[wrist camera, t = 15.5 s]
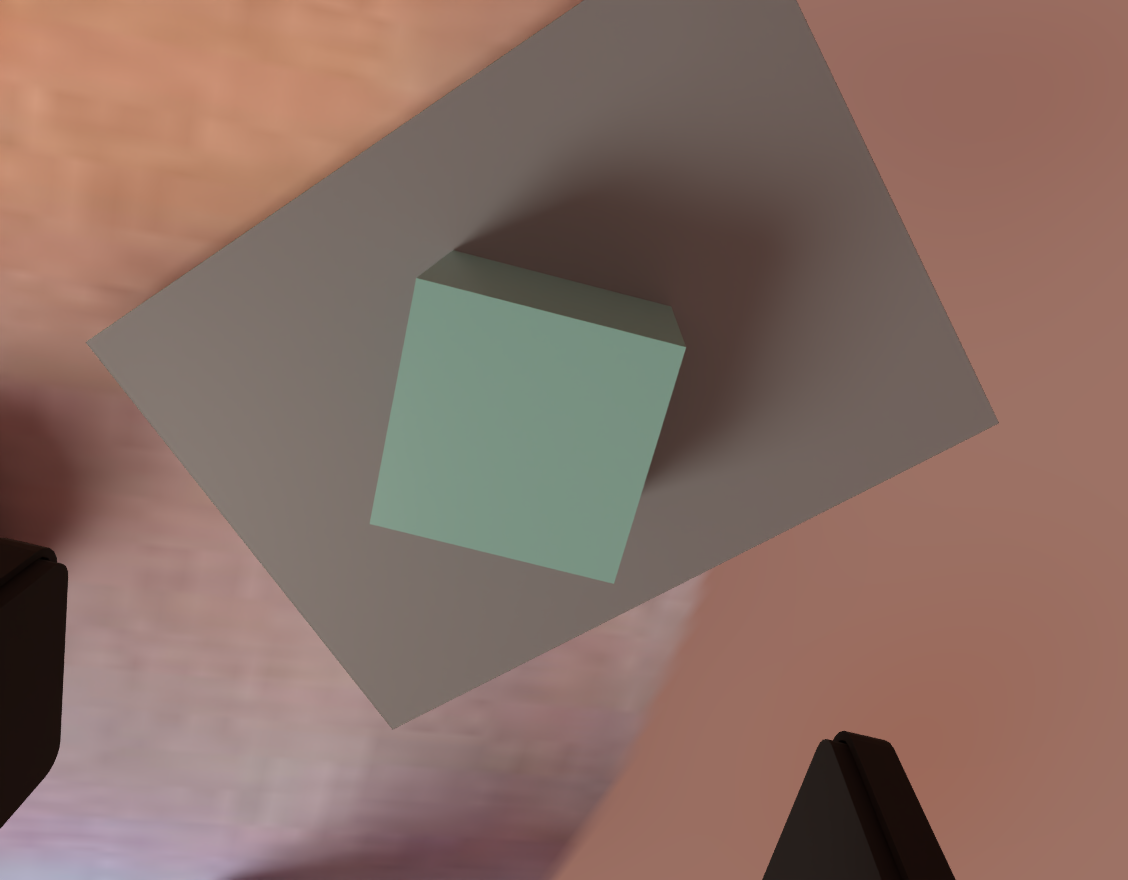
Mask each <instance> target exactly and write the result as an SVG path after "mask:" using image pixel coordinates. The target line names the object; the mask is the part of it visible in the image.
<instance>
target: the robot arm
mask: <svg viewBox="0 0 1128 880" xmlns="http://www.w3.org/2000/svg"><path fill="white" fill-rule="evenodd" d="M67 590H68V570H67V568H66V566H65V565H63V564H61V563H57V557H56V555H55V553H54V551H53V550H51V549H50V548H47V547H42V546H38V545H34V544H29V543H25V542H21V541H16V540H12V539H8V538H0V828H1V827H2V826H3V825H4V824H5V823H6V822H7V820H8V819H9V818H10V817H11V816H12V815H13V813H14V812H15V811H16V810H17V809H18V808H19V807H20V805H21V804H22V803H23V802H24V801H25V800H26V798H27V797H28V796H29V795H30V794H31V793H32V792H33V790H34V789H35V788H36V787H37V786H38V785H39V783H40V782H41V781H42V780H43V779H44V778H45V776H46V775H47V774H48V772H49V771H50V769H51V767H52V766H53V764H54V762H55V759H56V757H57V754H58V751H59V747H60V736H61V715H62V694H63V674H64V653H65V632H66V611H67ZM762 880H955V877H954V876H953V874H952V871H951V869H950V867H949V865H948V863H947V860H946V858H945V856H944V854H943V852H942V850H941V848H940V846H939V844H938V841H937V839H936V837H935V835H934V833H933V831H932V829H931V826H930V825H929V822H928V820H927V818H926V816H925V814H924V812H923V809H922V807H921V805H920V803H919V801H918V799H917V797H916V795H915V792H914V790H913V788H912V786H911V784H910V782H909V780H908V778H907V775H906V773H905V771H904V769H903V767H902V765H901V763H900V761H899V758H898V756H897V754H896V752H895V750H894V748H893V747H892V745H891V744H890V743H889V742H887V741H885V740H881V739H877V738H872V737H868V736H864V735H859V734H855V733H851V732H846V731H842V732H839V733H838V734H837V735H836V736H835V738H834V740H833V741H832V740H828V739H825V740H822V742H820V744H819V746H818V747H817V750H816V752H815V754H814V757H813V759H812V761H811V764H810V766H809V769H808V771H807V773H806V776H805V778H804V781H803V783H802V786H801V788H800V790H799V793H798V795H797V798H796V800H795V802H794V805H793V807H792V810H791V812H790V815H789V817H788V819H787V822H786V824H785V826H784V829H783V831H782V834H781V836H780V838H779V841H778V843H777V846H776V848H775V850H774V853H773V855H772V858H771V860H770V863H769V865H768V867H767V870H766V872H765V875H764V877H763V879H762Z"/></svg>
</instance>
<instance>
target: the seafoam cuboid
mask: <svg viewBox="0 0 1128 880" xmlns="http://www.w3.org/2000/svg"><path fill="white" fill-rule="evenodd" d="M685 349H686V346H685V343H684V340H683V337H682V335H681V332H680V329H679V326H678V324H677V321H676V318H675V316H674V313H673V310H672V307H671V306H667V305H663V304H659V303H656V302H652V301H648V300H644V299H640V298H636V297H632V296H629V295H625V294H621V293H617V292H613V291H609V290H605V289H601V288H598V287H594V286H590V285H586V284H582V283H578V282H574V281H571V280H567V279H563V278H559V277H555V276H551V275H547V274H543V273H540V272H536V271H532V270H528V269H524V268H520V267H516V266H512V265H509V264H505V263H501V262H497V261H493V260H489V259H485V258H482V257H478V256H474V255H470V254H466V253H462V252H458V251H454V250H452V251H451V252H450V253H448V254H447V255H446V256H445V257H443V258H442V259H441V260H439V261H438V262H437V263H435V264H434V265H433V266H431V267H430V268H429V269H427V270H426V271H425V272H423V273H422V274H421V275H419V276H418V277H417V278H416V282H415V287H414V292H413V298H412V303H411V308H410V313H409V319H408V324H407V329H406V334H405V340H404V345H403V350H402V356H401V361H400V366H399V371H398V377H397V382H396V387H395V392H394V398H393V403H392V408H391V413H390V419H389V424H388V429H387V435H386V440H385V445H384V450H383V456H382V461H381V466H380V471H379V477H378V482H377V487H376V492H375V498H374V503H373V508H372V513H371V519H370V524H372V525H376V526H380V527H384V528H388V529H392V530H396V531H400V532H405V533H409V534H413V535H417V536H421V537H425V538H429V539H433V540H437V541H441V542H445V543H449V544H453V545H458V546H462V547H466V548H470V549H474V550H478V551H482V552H486V553H490V554H494V555H498V556H502V557H506V558H510V559H515V560H519V561H523V562H527V563H531V564H535V565H539V566H543V567H547V568H551V569H555V570H559V571H563V572H568V573H572V574H576V575H580V576H584V577H588V578H592V579H596V580H600V581H604V582H608V583H612V584H614V582H615V579H616V575H617V572H618V569H619V566H620V562H621V559H622V556H623V552H624V549H625V546H626V543H627V539H628V536H629V533H630V530H631V526H632V523H633V520H634V516H635V513H636V510H637V507H638V503H639V500H640V497H641V493H642V490H643V487H644V484H645V480H646V477H647V474H648V471H649V467H650V464H651V461H652V457H653V454H654V451H655V448H656V444H657V441H658V438H659V435H660V431H661V428H662V425H663V421H664V418H665V415H666V412H667V408H668V405H669V402H670V398H671V395H672V392H673V389H674V385H675V382H676V379H677V376H678V372H679V369H680V366H681V362H682V359H683V356H684V353H685Z"/></svg>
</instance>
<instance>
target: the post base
mask: <svg viewBox="0 0 1128 880" xmlns="http://www.w3.org/2000/svg"><path fill="white" fill-rule="evenodd" d="M452 250H454V251H458V252H462V253H466V254H470V255H474V256H478V257H482V258H485V259H489V260H493V261H497V262H501V263H505V264H509V265H512V266H516V267H520V268H524V269H528V270H532V271H536V272H540V273H543V274H547V275H551V276H555V277H559V278H563V279H567V280H571V281H574V282H578V283H582V284H586V285H590V286H594V287H598V288H601V289H605V290H609V291H613V292H617V293H621V294H625V295H629V296H632V297H636V298H640V299H644V300H648V301H652V302H656V303H659V304H663V305H667V306H671V307H672V310H673V313H674V316H675V318H676V321H677V324H678V326H679V329H680V332H681V335H682V337H683V340H684V343H685V346H686V349H685V353H684V356H683V359H682V362H681V366H680V369H679V372H678V376H677V379H676V382H675V385H674V389H673V392H672V395H671V398H670V402H669V405H668V408H667V412H666V415H665V418H664V421H663V425H662V428H661V431H660V435H659V438H658V441H657V444H656V448H655V451H654V454H653V457H652V461H651V464H650V467H649V471H648V474H647V477H646V480H645V484H644V487H643V490H642V493H641V497H640V500H639V503H638V507H637V510H636V513H635V516H634V520H633V523H632V526H631V530H630V533H629V536H628V539H627V543H626V546H625V549H624V552H623V556H622V559H621V562H620V566H619V569H618V572H617V575H616V579H615V582H614V584H612V583H608V582H604V581H600V580H596V579H592V578H588V577H584V576H580V575H576V574H572V573H568V572H563V571H559V570H555V569H551V568H547V567H543V566H539V565H535V564H531V563H527V562H523V561H519V560H515V559H510V558H506V557H502V556H498V555H494V554H490V553H486V552H482V551H478V550H474V549H470V548H466V547H462V546H458V545H453V544H449V543H445V542H441V541H437V540H433V539H429V538H425V537H421V536H417V535H413V534H409V533H405V532H400V531H396V530H392V529H388V528H384V527H380V526H376V525H372V524H370V519H371V513H372V508H373V503H374V498H375V492H376V487H377V482H378V477H379V471H380V466H381V461H382V456H383V450H384V445H385V440H386V435H387V429H388V424H389V419H390V413H391V408H392V403H393V398H394V392H395V387H396V382H397V377H398V371H399V366H400V361H401V356H402V350H403V345H404V340H405V334H406V329H407V324H408V319H409V313H410V308H411V303H412V298H413V292H414V287H415V282H416V278H417V277H418V276H419V275H421V274H422V273H423V272H425V271H426V270H427V269H429V268H430V267H431V266H433V265H434V264H435V263H437V262H438V261H439V260H441V259H442V258H443V257H445V256H446V255H447V254H448V253H450V252H451V251H452ZM86 343H87V345H88V346H89V347H90V348H91V350H92V351H93V352H94V353H95V355H96V356H97V357H98V358H99V360H100V361H101V362H102V364H103V365H104V366H105V367H106V369H107V370H108V371H109V372H110V374H111V375H112V376H113V377H114V379H115V380H116V381H117V382H118V384H119V385H120V386H121V387H122V389H123V390H124V391H125V393H126V394H127V395H128V396H129V398H130V399H131V400H132V401H133V403H134V404H135V405H136V406H137V408H138V409H139V410H140V411H141V413H142V414H143V415H144V417H145V418H146V419H147V420H148V422H149V423H150V424H151V425H152V427H153V428H154V429H155V430H156V432H157V433H158V434H159V435H160V437H161V438H162V439H163V440H164V442H165V443H166V444H167V446H168V447H169V448H170V449H171V451H172V452H173V453H174V454H175V456H176V457H177V458H178V459H179V461H180V462H181V463H182V464H183V466H184V467H185V468H186V470H187V471H188V472H189V473H190V475H191V476H192V477H193V478H194V480H195V481H196V482H197V483H198V485H199V486H200V487H201V488H202V490H203V491H204V492H205V493H206V495H207V496H208V497H209V499H210V500H211V501H212V502H213V504H214V505H215V506H216V507H217V509H218V510H219V511H220V512H221V514H222V515H223V516H224V517H225V519H226V520H227V521H228V523H229V524H230V525H231V526H232V528H233V529H234V530H235V531H236V533H237V534H238V535H239V536H240V538H241V539H242V540H243V541H244V543H245V544H246V545H247V546H248V548H249V549H250V550H251V552H252V553H253V554H254V555H255V557H256V558H257V559H258V560H259V562H260V563H261V564H262V565H263V567H264V568H265V569H266V570H267V572H268V573H269V574H270V576H271V577H272V578H273V579H274V581H275V582H276V583H277V584H278V586H279V587H280V588H281V589H282V591H283V592H284V593H285V594H286V596H287V597H288V598H289V599H290V601H291V602H292V603H293V605H294V606H295V607H296V608H297V610H298V611H299V612H300V613H301V615H302V616H303V617H304V618H305V620H306V621H307V622H308V623H309V625H310V626H311V627H312V628H313V630H314V631H315V632H316V634H317V635H318V636H319V637H320V639H321V640H322V641H323V642H324V644H325V645H326V646H327V647H328V649H329V650H330V651H331V652H332V654H333V655H334V656H335V658H336V659H337V660H338V661H339V663H340V664H341V665H342V666H343V668H344V669H345V670H346V671H347V673H348V674H349V675H350V676H351V678H352V679H353V680H354V681H355V683H356V684H357V685H358V687H359V688H360V689H361V690H362V692H363V693H364V694H365V695H366V697H367V698H368V699H369V700H370V702H371V703H372V704H373V705H374V707H375V708H376V709H377V711H378V712H379V713H380V714H381V716H382V717H383V718H384V719H385V721H386V722H387V723H388V724H389V726H390V727H391V728H392V729H395V728H397V727H399V726H401V725H403V724H405V723H407V722H409V721H411V720H412V719H414V718H416V717H418V716H420V715H422V714H424V713H426V712H428V711H430V710H432V709H434V708H436V707H438V706H440V705H442V704H444V703H446V702H448V701H450V700H452V699H454V698H456V697H458V696H460V695H462V694H464V693H466V692H468V691H470V690H472V689H474V688H476V687H478V686H480V685H482V684H484V683H486V682H488V681H490V680H492V679H494V678H496V677H498V676H500V675H502V674H504V673H506V672H508V671H510V670H511V669H513V668H515V667H517V666H519V665H521V664H523V663H525V662H527V661H529V660H531V659H533V658H535V657H537V656H539V655H541V654H543V653H545V652H547V651H549V650H551V649H553V648H555V647H557V646H559V645H561V644H563V643H565V642H567V641H569V640H571V639H573V638H575V637H577V636H579V635H581V634H583V633H585V632H587V631H589V630H591V629H593V628H595V627H597V626H599V625H601V624H603V623H605V622H607V621H608V620H610V619H612V618H614V617H616V616H618V615H620V614H622V613H624V612H626V611H628V610H630V609H632V608H634V607H636V606H638V605H640V604H642V603H644V602H646V601H648V600H650V599H652V598H654V597H656V596H658V595H660V594H662V593H664V592H666V591H668V590H670V589H672V588H674V587H676V586H678V585H680V584H682V583H684V582H686V581H688V580H690V579H692V578H694V577H696V576H698V575H700V574H702V573H704V572H705V571H707V570H709V569H711V568H713V567H715V566H717V565H719V564H721V563H723V562H725V561H727V560H729V559H731V558H733V557H735V556H737V555H739V554H741V553H743V552H745V551H747V550H749V549H751V548H753V547H755V546H757V545H759V544H761V543H763V542H765V541H767V540H769V539H771V538H773V537H775V536H777V535H779V534H781V533H783V532H784V531H787V530H789V529H790V528H793V527H794V526H796V525H799V524H800V523H802V522H804V521H806V520H808V519H810V518H812V517H814V516H816V515H818V514H820V513H822V512H824V511H826V510H828V509H830V508H832V507H834V506H836V505H838V504H840V503H842V502H844V501H846V500H848V499H850V498H852V497H854V496H856V495H858V494H860V493H862V492H864V491H866V490H868V489H870V488H872V487H874V486H876V485H878V484H880V483H882V482H884V481H886V480H888V479H890V478H891V477H894V476H895V475H897V474H900V473H901V472H903V471H905V470H907V469H909V468H911V467H913V466H915V465H917V464H919V463H921V462H923V461H925V460H927V459H929V458H931V457H933V456H935V455H937V454H939V453H941V452H943V451H945V450H947V449H949V448H951V447H953V446H955V445H957V444H959V443H961V442H963V441H965V440H967V439H969V438H971V437H973V436H975V435H977V434H979V433H981V432H982V431H985V430H987V429H989V428H991V427H992V426H994V425H997V424H998V423H999V422H998V420H997V418H996V416H995V414H994V411H993V409H992V407H991V405H990V403H989V401H988V399H987V397H986V395H985V393H984V391H983V389H982V387H981V384H980V382H979V380H978V378H977V376H976V374H975V372H974V370H973V368H972V366H971V363H970V361H969V359H968V358H967V355H966V353H965V351H964V349H963V347H962V345H961V343H960V341H959V338H958V336H957V334H956V332H955V330H954V328H953V326H952V324H951V322H950V320H949V318H948V316H947V313H946V312H945V309H944V307H943V305H942V303H941V301H940V299H939V297H938V295H937V293H936V291H935V289H934V286H933V284H932V282H931V280H930V278H929V276H928V274H927V272H926V270H925V268H924V266H923V264H922V261H921V259H920V257H919V255H918V253H917V251H916V249H915V247H914V245H913V243H912V241H911V238H910V236H909V234H908V232H907V230H906V228H905V226H904V224H903V222H902V220H901V218H900V215H899V213H898V211H897V209H896V207H895V205H894V203H893V201H892V199H891V197H890V195H889V193H888V190H887V188H886V186H885V184H884V182H883V180H882V178H881V176H880V174H879V172H878V170H877V167H876V166H875V163H874V161H873V159H872V157H871V155H870V153H869V151H868V149H867V147H866V145H865V143H864V140H863V138H862V136H861V134H860V132H859V130H858V128H857V126H856V124H855V122H854V119H853V117H852V115H851V113H850V111H849V109H848V107H847V105H846V103H845V101H844V99H843V97H842V95H841V93H840V90H839V88H838V86H837V84H836V82H835V80H834V78H833V76H832V74H831V72H830V70H829V67H828V65H827V63H826V61H825V59H824V57H823V55H822V53H821V51H820V49H819V47H818V44H817V42H816V40H815V38H814V36H813V34H812V32H811V30H810V28H809V26H808V24H807V21H806V19H805V18H804V15H803V13H802V11H801V9H800V7H799V5H798V3H797V1H796V0H584V1H582V2H581V3H579V4H578V5H576V6H575V7H573V8H572V9H571V10H569V11H568V12H566V13H565V14H563V15H562V16H560V17H559V18H557V19H556V20H555V21H553V22H552V23H550V24H549V25H547V26H546V27H544V28H543V29H541V30H540V31H538V32H537V33H536V34H534V35H533V36H531V37H530V38H528V39H527V40H525V41H524V42H522V43H521V44H520V45H518V46H517V47H515V48H514V49H512V50H511V51H509V52H508V53H506V54H505V55H504V56H502V57H501V58H499V59H498V60H496V61H495V62H493V63H492V64H490V65H489V66H487V67H486V68H485V69H483V70H482V71H480V72H479V73H477V74H476V75H474V76H473V77H471V78H470V79H469V80H467V81H466V82H464V83H463V84H461V85H460V86H458V87H457V88H455V89H454V90H453V91H451V92H450V93H448V94H447V95H445V96H444V97H442V98H441V99H439V100H438V101H436V102H435V103H434V104H432V105H431V106H429V107H428V108H426V109H425V110H423V111H422V112H420V113H419V114H418V115H416V116H415V117H413V118H412V119H410V120H409V121H407V122H406V123H404V124H403V125H402V126H400V127H399V128H397V129H396V130H394V131H393V132H391V133H390V134H388V135H387V136H385V137H384V138H383V139H381V140H380V141H378V142H377V143H375V144H374V145H372V146H371V147H369V148H368V149H367V150H365V151H364V152H362V153H361V154H359V155H358V156H356V157H355V158H353V159H352V160H350V161H349V162H348V163H346V164H345V165H343V166H342V167H340V168H339V169H337V170H336V171H334V172H333V173H332V174H330V175H329V176H327V177H326V178H324V179H323V180H321V181H320V182H318V183H317V184H316V185H314V186H313V187H311V188H310V189H308V190H307V191H305V192H304V193H302V194H301V195H299V196H298V197H297V198H295V199H294V200H292V201H291V202H289V203H288V204H286V205H285V206H283V207H282V208H281V209H279V210H278V211H276V212H275V213H273V214H272V215H270V216H269V217H267V218H266V219H265V220H263V221H262V222H260V223H259V224H257V225H256V226H254V227H253V228H251V229H250V230H248V231H247V232H246V233H244V234H243V235H241V236H240V237H238V238H237V239H235V240H234V241H232V242H231V243H230V244H228V245H227V246H225V247H224V248H222V249H221V250H219V251H218V252H216V253H215V254H214V255H212V256H211V257H209V258H208V259H206V260H205V261H203V262H202V263H200V264H199V265H197V266H196V267H195V268H193V269H192V270H190V271H189V272H187V273H186V274H184V275H183V276H181V277H180V278H179V279H177V280H176V281H174V282H173V283H171V284H170V285H168V286H167V287H165V288H164V289H163V290H161V291H160V292H158V293H157V294H155V295H154V296H152V297H151V298H149V299H148V300H146V301H145V302H144V303H142V304H141V305H139V306H138V307H136V308H135V309H133V310H132V311H130V312H129V313H128V314H126V315H125V316H123V317H122V318H120V319H119V320H117V321H116V322H114V323H113V324H112V325H110V326H109V327H107V328H106V329H104V330H103V331H101V332H100V333H98V334H97V335H95V336H94V337H93V338H91V339H90V340H88V341H87V342H86Z"/></svg>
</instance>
